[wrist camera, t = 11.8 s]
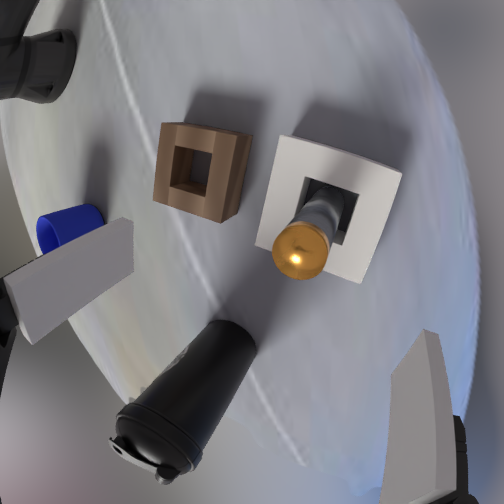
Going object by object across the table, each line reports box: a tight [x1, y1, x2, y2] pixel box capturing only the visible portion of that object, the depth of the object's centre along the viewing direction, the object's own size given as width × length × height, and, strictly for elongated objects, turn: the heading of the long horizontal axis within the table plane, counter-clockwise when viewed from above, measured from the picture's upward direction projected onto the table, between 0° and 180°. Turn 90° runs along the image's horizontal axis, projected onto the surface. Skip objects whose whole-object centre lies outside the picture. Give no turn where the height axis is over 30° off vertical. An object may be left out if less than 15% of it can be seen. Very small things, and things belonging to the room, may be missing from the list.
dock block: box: [255, 135, 402, 284], centre depth 26 cm, size 11×11×4 cm
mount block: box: [153, 122, 253, 224], centre depth 30 cm, size 9×9×4 cm
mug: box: [36, 204, 104, 254], centre depth 40 cm, size 8×12×10 cm
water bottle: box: [108, 320, 256, 485], centre depth 31 cm, size 10×10×23 cm
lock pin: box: [272, 187, 344, 280], centre depth 22 cm, size 3×3×14 cm
